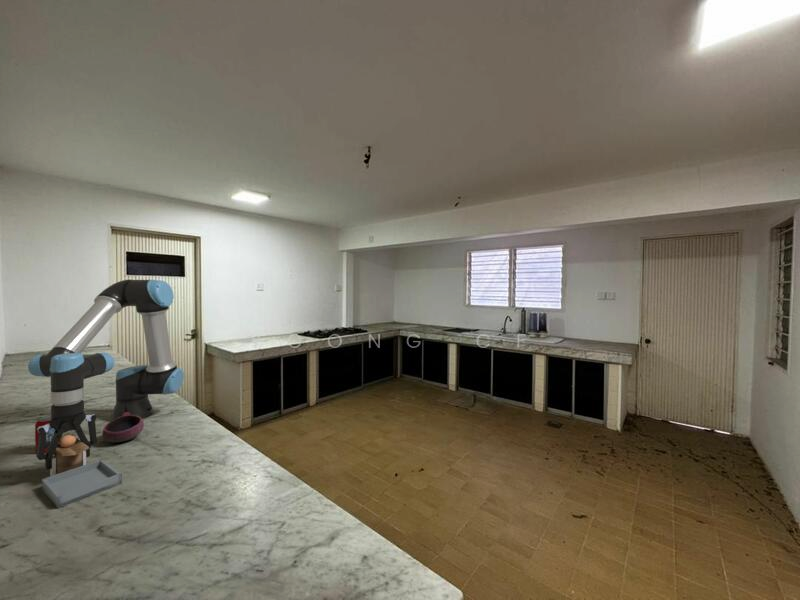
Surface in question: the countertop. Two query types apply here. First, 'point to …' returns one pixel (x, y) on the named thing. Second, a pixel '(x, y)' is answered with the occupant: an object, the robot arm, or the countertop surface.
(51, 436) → the beverage can
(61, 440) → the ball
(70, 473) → the tray
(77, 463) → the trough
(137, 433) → the bowl
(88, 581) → the countertop surface
